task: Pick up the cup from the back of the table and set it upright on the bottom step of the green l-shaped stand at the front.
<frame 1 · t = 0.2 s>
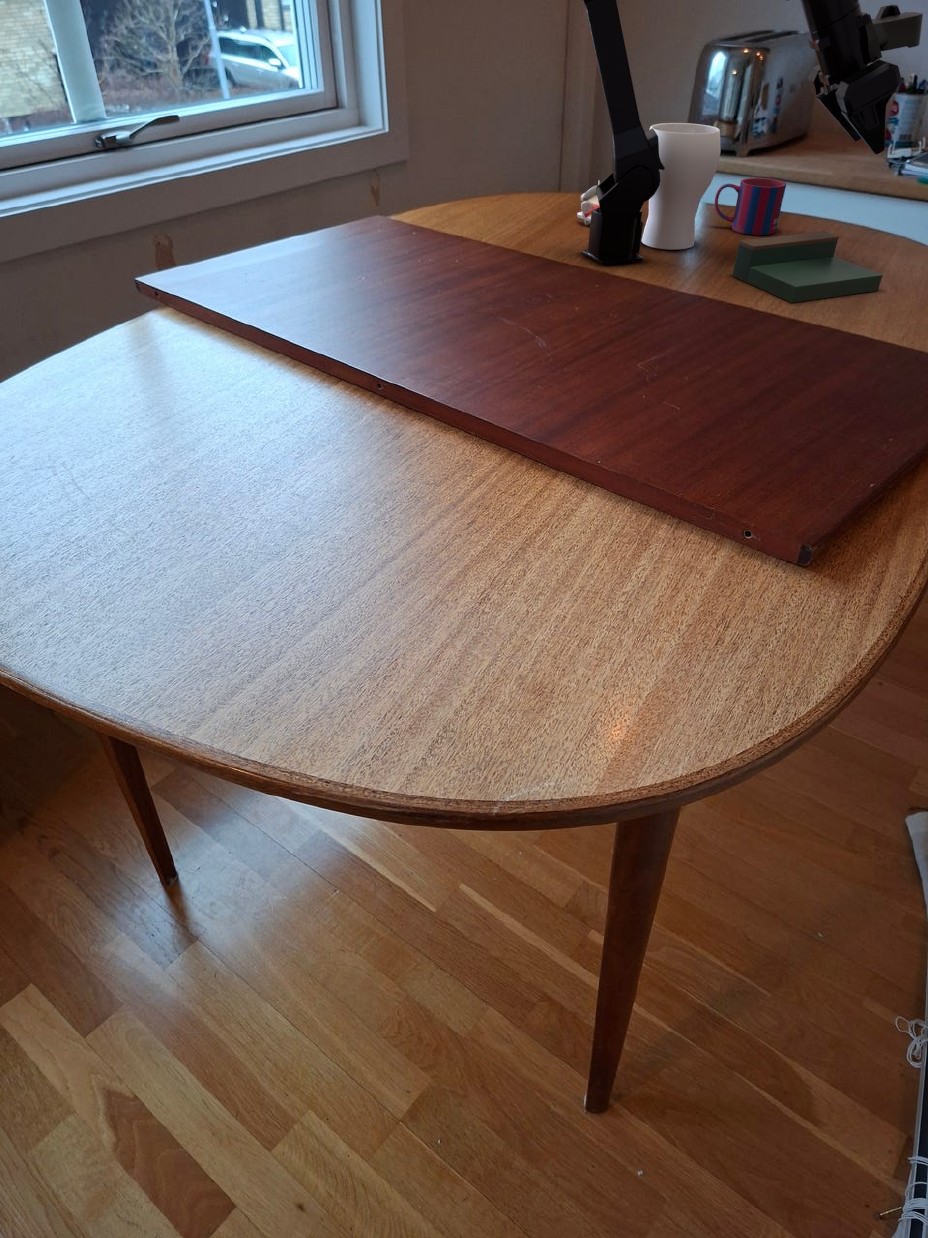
hand: (869, 145, 109), 15 cm above the table, tool tilted 30°, fingers open, 9 cm apart
cup 2: (667, 244, 126), on the table
toy airplane: (602, 224, 136), on the table
green l-shaped stand: (803, 283, 112), on the table
cup: (742, 230, 134), on the table
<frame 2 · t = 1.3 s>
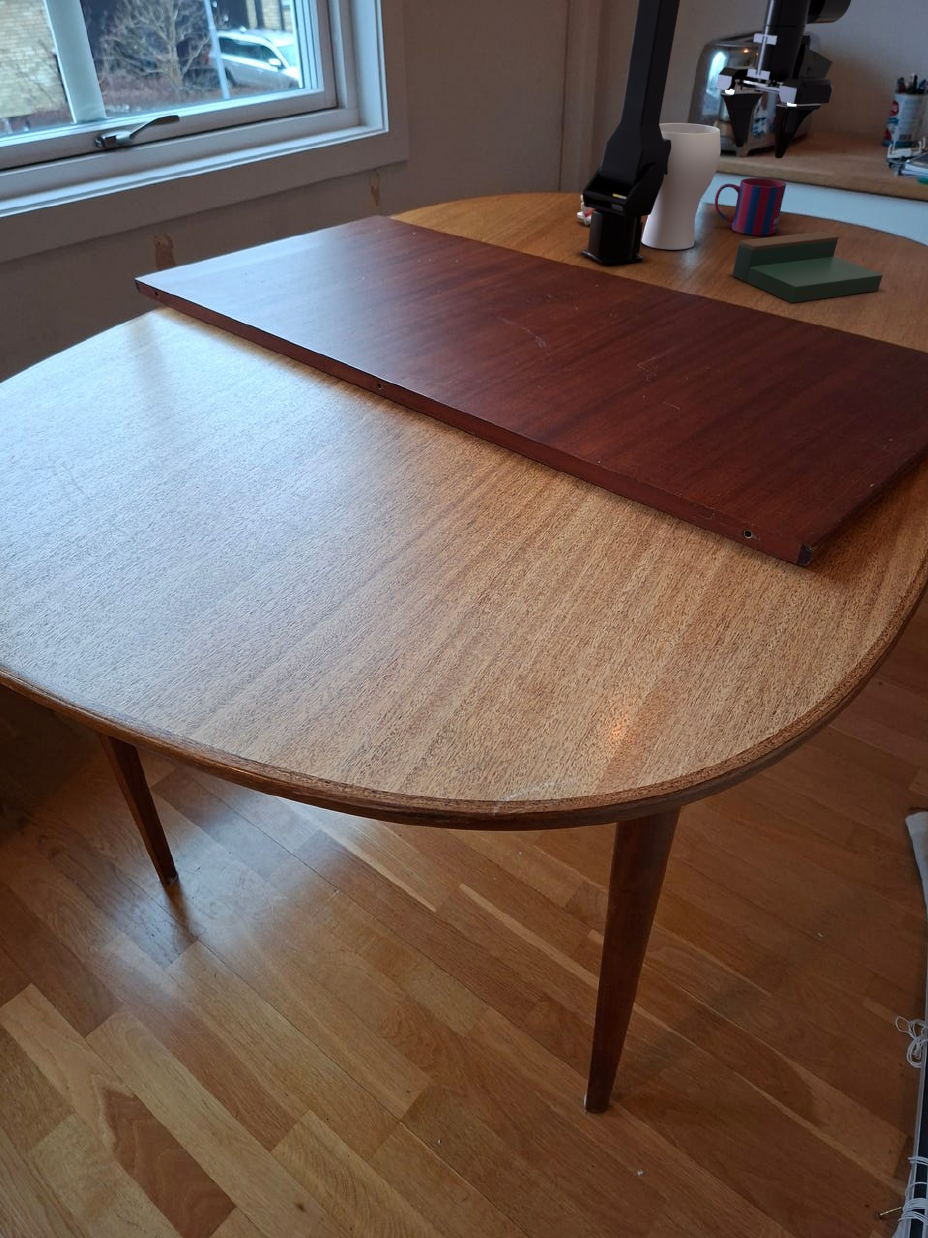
hand: (758, 152, 127), 11 cm above the table, tool pointing down, fingers open, 9 cm apart
nothing on the table moved.
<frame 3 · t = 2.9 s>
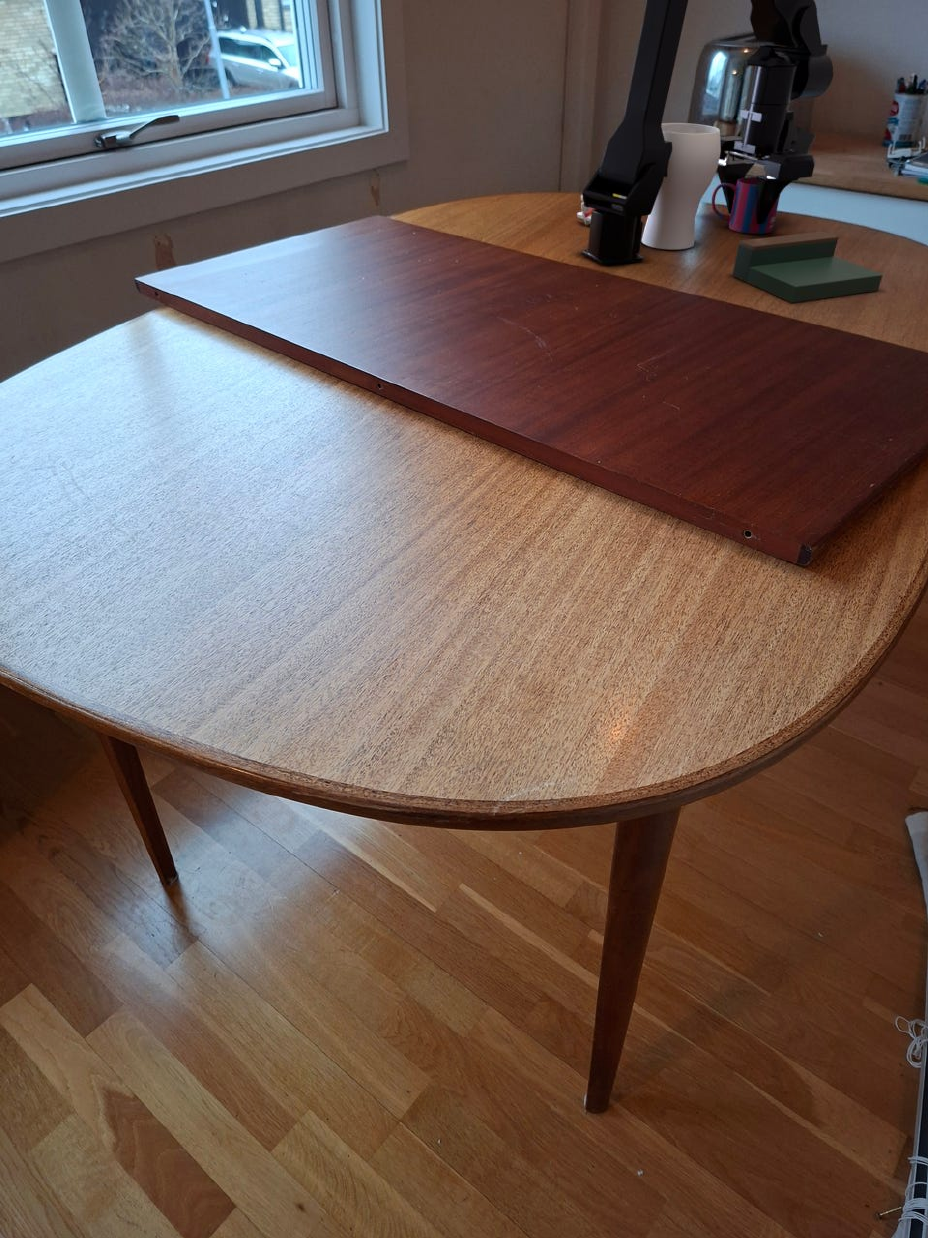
hand: (745, 218, 132), 2 cm above the table, tool pointing down, fingers closed on cup, 7 cm apart
cup: (739, 229, 134), on the table, touching gripper
everything else where it was.
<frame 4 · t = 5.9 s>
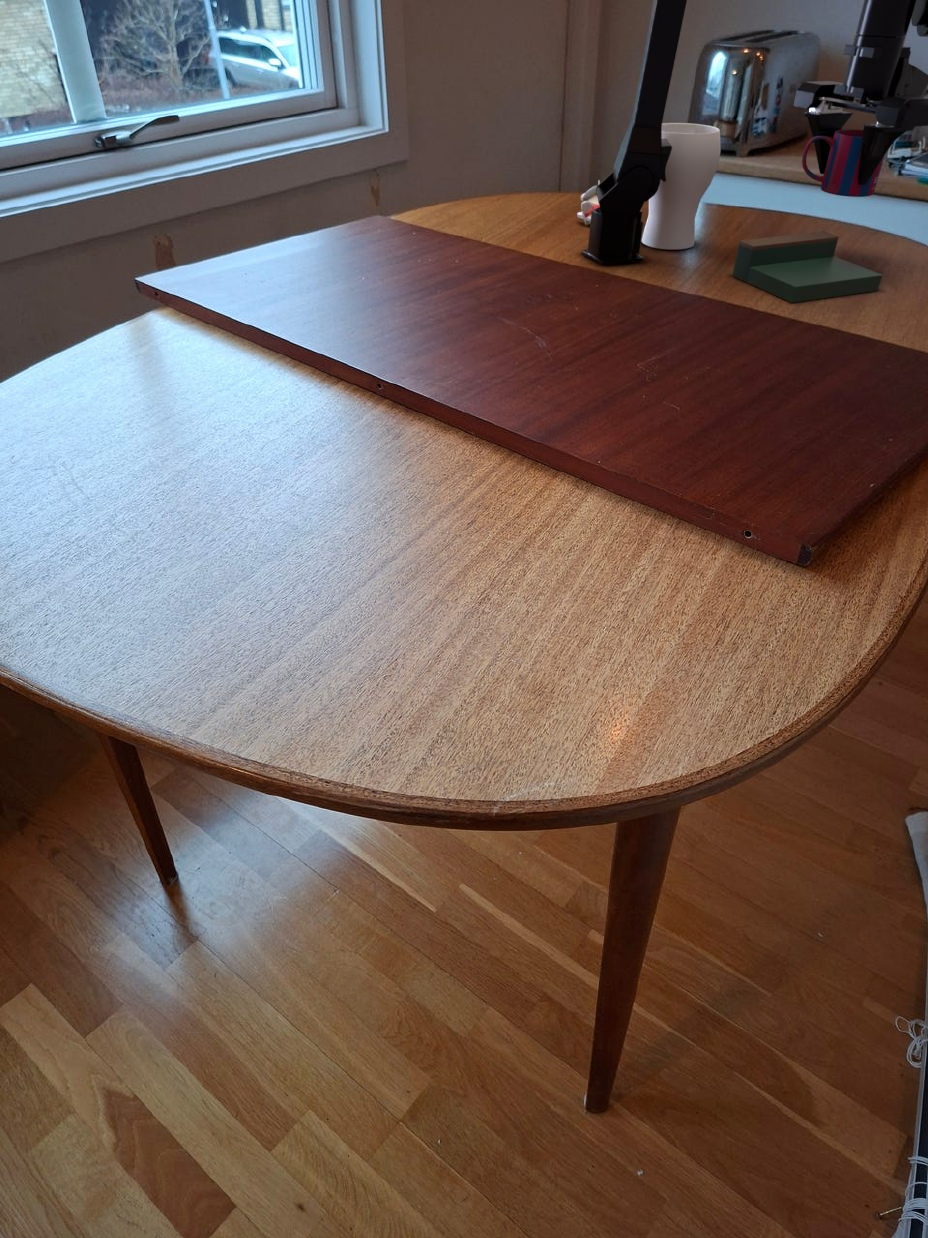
hand: (842, 178, 112), 11 cm above the table, tool pointing down, fingers closed on cup, 7 cm apart
cup: (833, 191, 113), point 9 cm above the table, touching gripper
everything else where it was.
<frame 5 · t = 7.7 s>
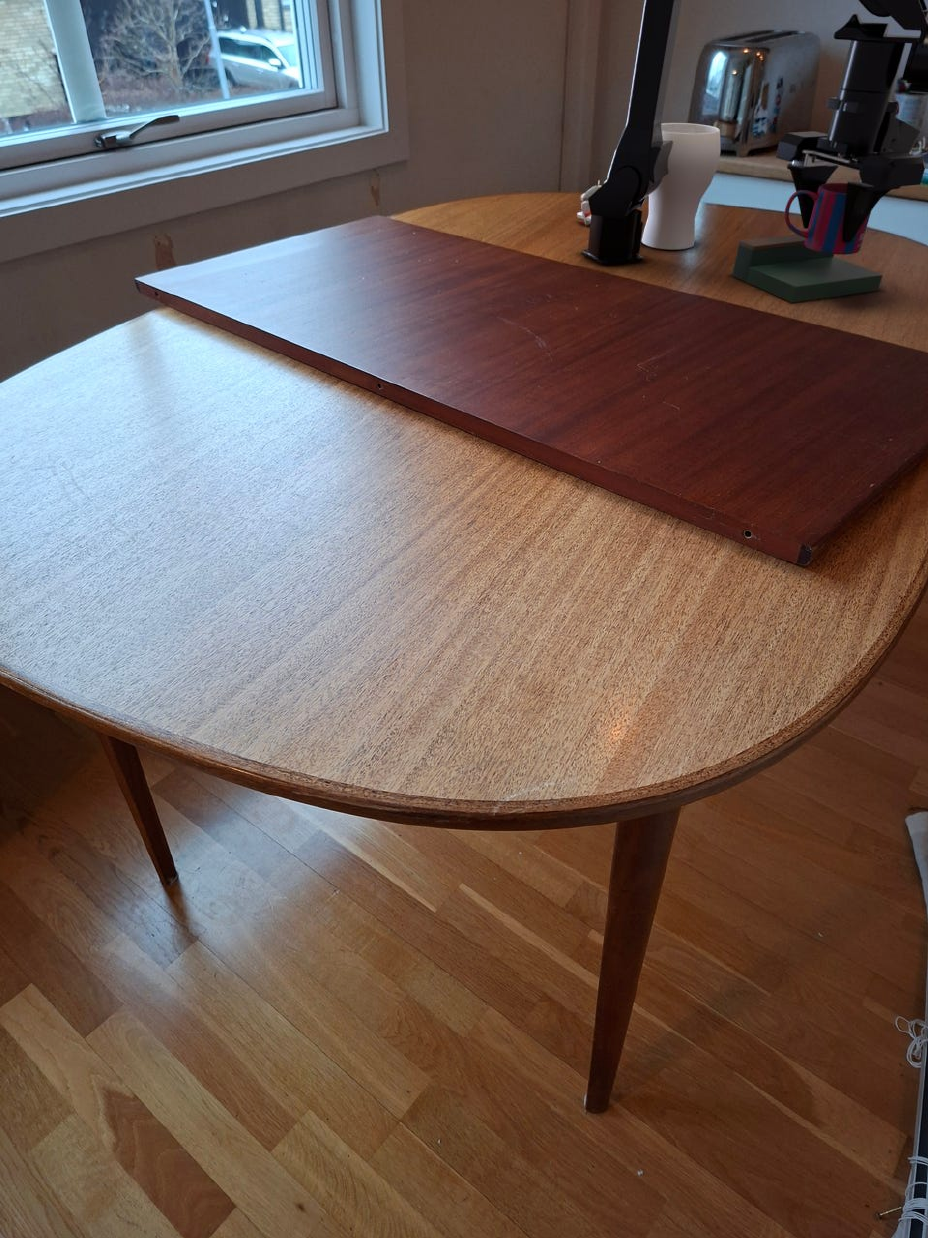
hand: (826, 234, 106), 6 cm above the table, tool pointing down, fingers closed on cup, 7 cm apart
cup: (817, 247, 108), point 5 cm above the table, touching gripper
everything else where it was.
when the fingers open (4 cm above the table, at t = 9.1 s): cup stays where it is, resting on green l-shaped stand.
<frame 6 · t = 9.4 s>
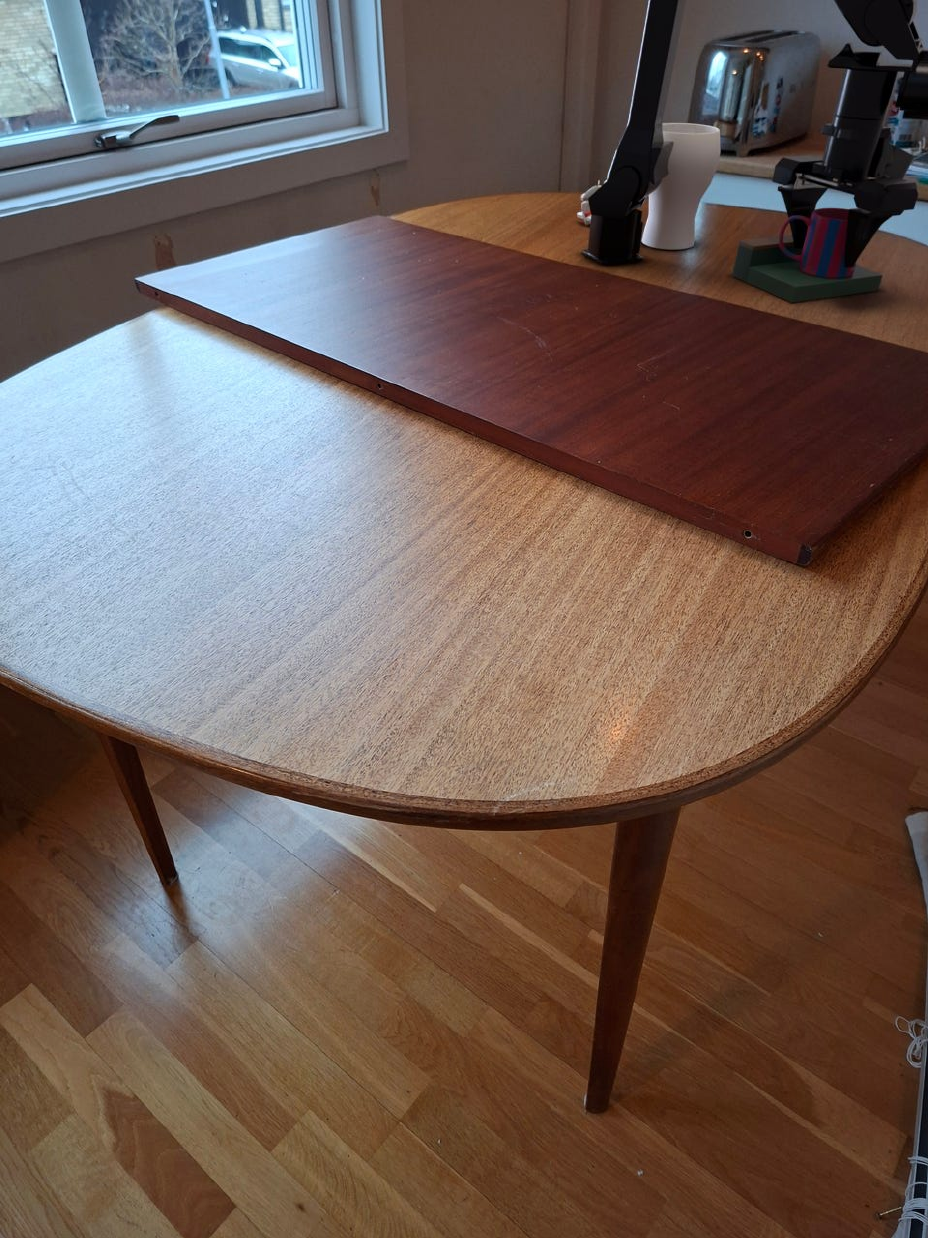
hand: (822, 257, 108), 4 cm above the table, tool pointing down, fingers open, 9 cm apart
cup: (811, 271, 110), point 2 cm above the table, touching green l-shaped stand
everything else where it was.
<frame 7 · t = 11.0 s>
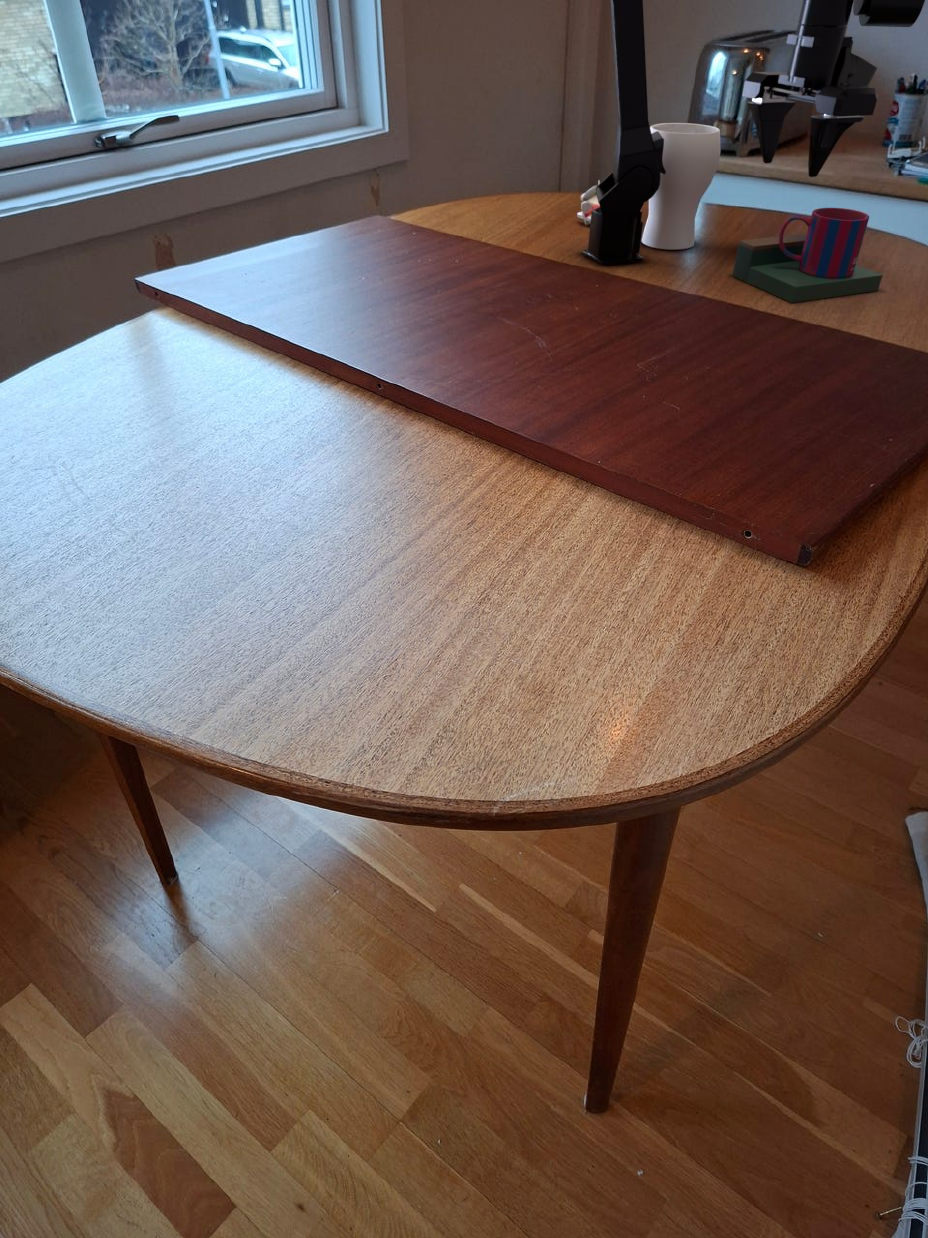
hand: (789, 169, 111), 12 cm above the table, tool pointing down, fingers open, 9 cm apart
nothing on the table moved.
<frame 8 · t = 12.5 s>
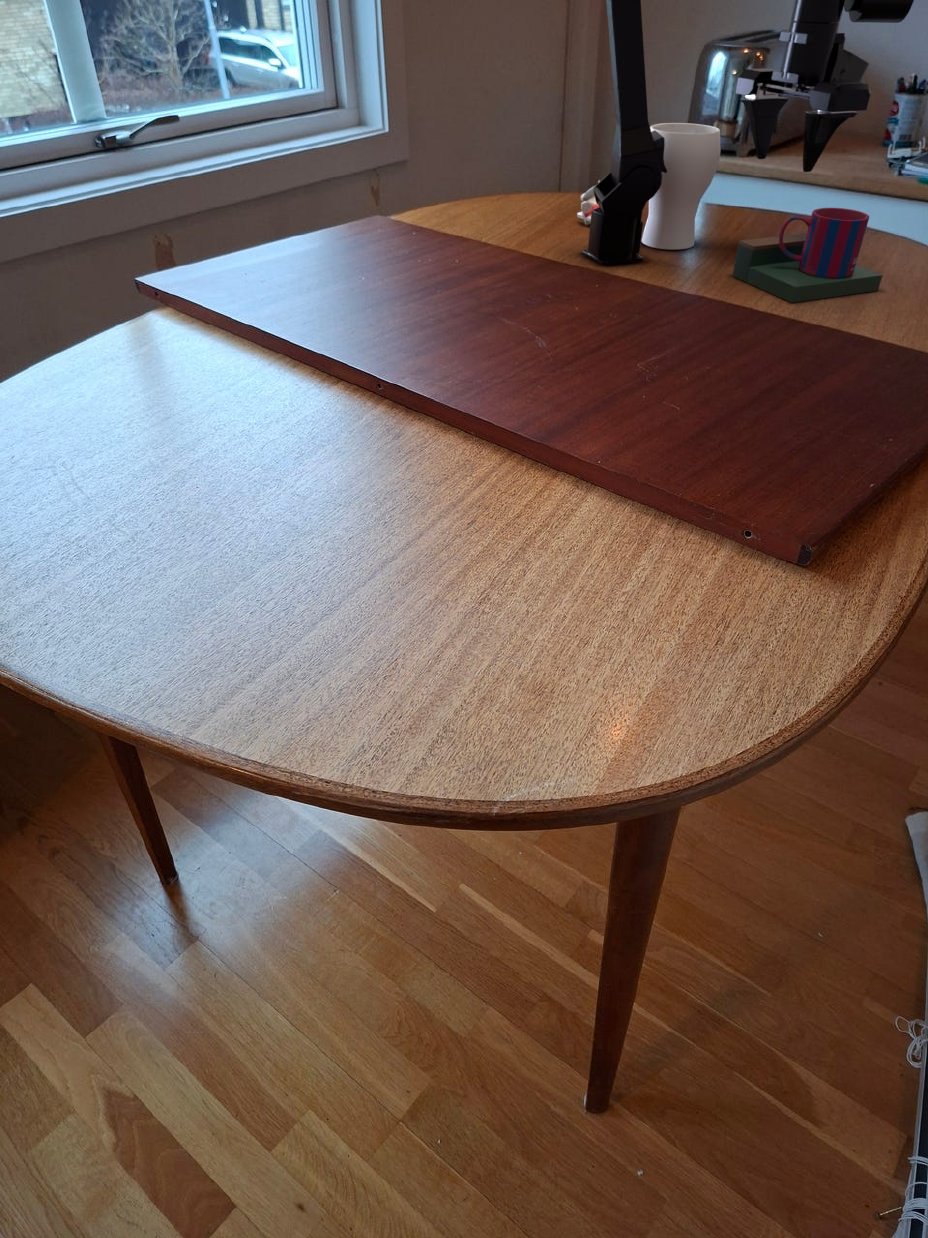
hand: (783, 164, 113), 12 cm above the table, tool pointing down, fingers open, 9 cm apart
nothing on the table moved.
at the end: cup inside the target area on the green l-shaped stand (1.0 cm from its centre), point 1.8 cm above the green l-shaped stand's base; cup tilted 0°; the gripper is holding nothing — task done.
